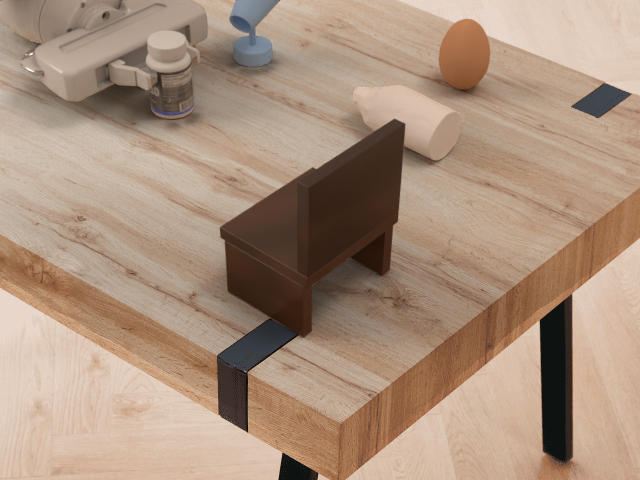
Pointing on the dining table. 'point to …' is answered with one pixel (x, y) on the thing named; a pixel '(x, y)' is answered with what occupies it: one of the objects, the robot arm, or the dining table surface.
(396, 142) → the small wooden chair
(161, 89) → the pill bottle
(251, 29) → the spotlight
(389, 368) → the dining table surface
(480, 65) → the egg
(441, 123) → the beige bottle
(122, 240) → the dining table surface
